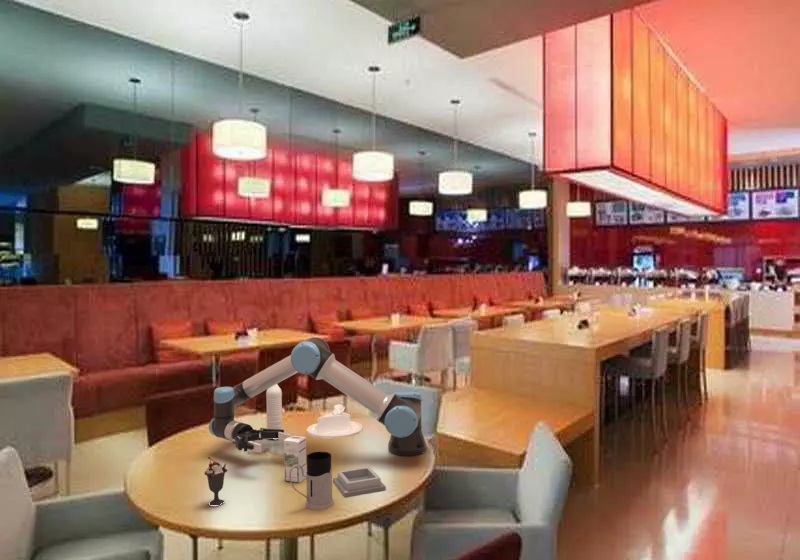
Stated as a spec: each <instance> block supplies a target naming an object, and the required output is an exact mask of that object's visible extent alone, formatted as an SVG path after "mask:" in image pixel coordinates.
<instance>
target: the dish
mask: <svg viewBox="0 0 800 560" xmlns="http://www.w3.org/2000/svg"><path fill="white" fill-rule="evenodd" d="M333 408H334V409H333V410H332V411H330V412H329V413H328V412H327V413H326V414H323V415H322V416H319V417H317V422H315V423H313V424H311V425H309V426H307V428H306V433H307V434H308V436H311V437H314V438H318V439H323V440H324V439H329V440H331V439H332V440H333V439H344V438H349V436H350V437H353V435H354V436H356V434H357V435H359V434H360V433H361V432H363V429H362V428H363V425H362V424H361V423H359V422H357V421H353V420H352V421H351V414H349V413H347V412H345V409H346V405H345V406H344V405H342V403H339V404H335V405H333Z"/></svg>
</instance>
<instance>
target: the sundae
mask: <svg viewBox="0 0 800 560" xmlns="http://www.w3.org/2000/svg"><path fill="white" fill-rule="evenodd" d="M207 459H209V460H210V462H209V463H208V467H207V468H206V470H205V471H204V476H206V477H207V483H208V488H209V490H210V491H211V492H212V493H213V495H214V496H213V500H211V502H210V501H209V502H210V505H220V504H221V503H223V502H224V501H225V500H223V499H220V498H219V493H220V491H222V489H223V488H224V482H225V481H224V480H225V474H226V473H227V471H228V469H227V468H226V466H227V463H224V465H223V464H222V463H220V462H218V461H215V460H212V458H211V456H208V457H207ZM212 461H213V462H212ZM220 506H221V505H220Z"/></svg>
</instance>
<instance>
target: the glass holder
mask: <svg viewBox="0 0 800 560" xmlns="http://www.w3.org/2000/svg"><path fill="white" fill-rule="evenodd" d="M296 466H299V467H300V468H301V470H302V476H303V477H306V478H305V479H306V480H305V481H306V482H305V483H306V495H305V494H304V493H303V492H300V491H299V490H298V489H297V488H296V487H295V486H294V484H293V483H294V482H292V480H291V471H292V469H293V468H294V467H296ZM306 471H307V472H306V476H304V471H303V468H302V466H300V465H294V466H293V467H292V468H291V469H290V472H289V478H290V485H291V487H292V489H293V490H294V491H295V492H297V493H298V494H300V495H301V496H303V497H304V498H306V501H305V503H304V504H305V505H304V506H305V507H306V508H307V509H309V510H310V509H311V510H314V511H315V510H317V511H320V510H325V509H326V510H327V509H328V508H331V507H332V506H333V505H334V503H335V502H334V499H333V465H332V454H331V453H330V452H327V451H315V452H311V453H309V454H306Z"/></svg>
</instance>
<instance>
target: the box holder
mask: <svg viewBox="0 0 800 560" xmlns="http://www.w3.org/2000/svg"><path fill="white" fill-rule="evenodd" d="M332 483H333V484H334V485H335V486H336V488H337V489H338V490H339V492H340V493H341V494H342V496H343V497H344V498H348V497H353V496H360V495H364V494H372V493H376V492H383V491H386V489H387V487H386V485H385V484H384V483H383V481H381V477H380V476H379V475H378V474H377V473H376V472H375V471H374V469H372V468H371V467H370V466H365V467H359V468H353V469H346V470H340V471H337V477H332Z"/></svg>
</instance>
